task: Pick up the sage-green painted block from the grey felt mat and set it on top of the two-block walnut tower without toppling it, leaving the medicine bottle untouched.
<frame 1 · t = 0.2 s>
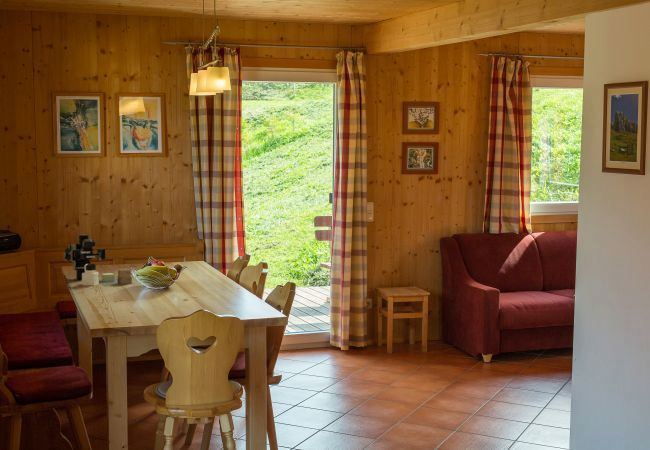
hand: (92, 256, 474), 16 cm above the table, tool horizontal, fingers open, 9 cm apart
tower top: (124, 276, 483), point 4 cm above the table, touching tower base
sage block: (108, 280, 491), resting on mat
medicine bottle: (90, 285, 479), on the table
tower base: (124, 283, 483), resting on mat, touching tower top
mat: (114, 283, 486), on the table
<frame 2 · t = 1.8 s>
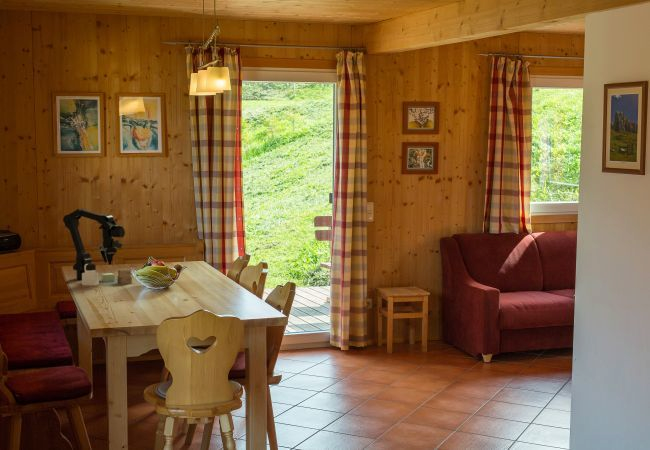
hand: (107, 263, 490), 11 cm above the table, tool pointing down, fingers open, 9 cm apart
nothing on the table moved.
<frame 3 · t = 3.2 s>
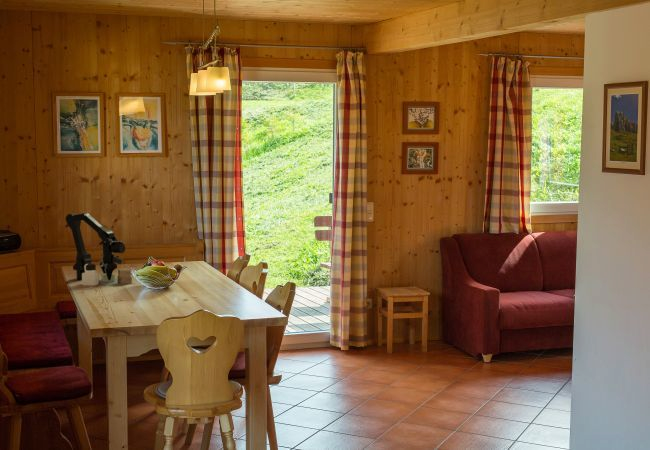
hand: (108, 279, 491), 1 cm above the table, tool pointing down, fingers closed on sage block, 6 cm apart
sage block: (108, 280, 491), resting on mat, touching gripper
everything else where it was.
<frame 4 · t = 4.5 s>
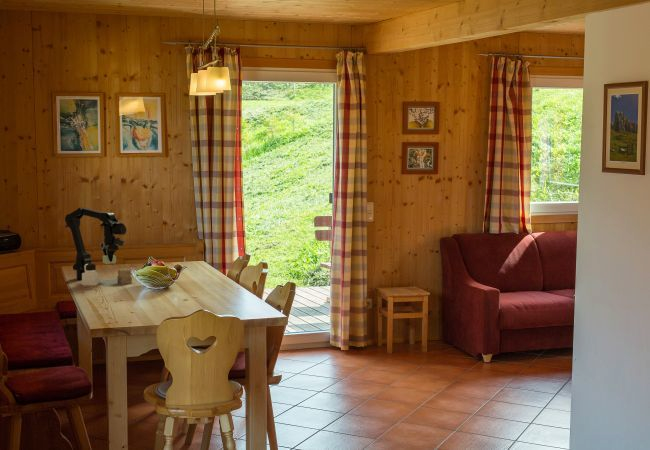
hand: (109, 261, 489), 12 cm above the table, tool pointing down, fingers closed on sage block, 6 cm apart
sage block: (109, 262, 490), point 11 cm above the table, touching gripper
everything else where it was.
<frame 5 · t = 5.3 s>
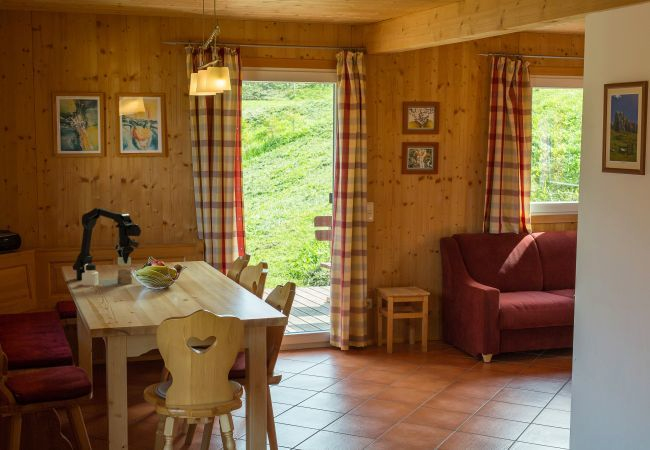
hand: (124, 262, 482), 12 cm above the table, tool pointing down, fingers closed on sage block, 6 cm apart
sage block: (124, 264, 482), point 11 cm above the table, touching gripper
everything else where it was.
when the fingers open (11 cm above the table, at t = 6.0 s): sage block drops 2 cm, resting on tower top.
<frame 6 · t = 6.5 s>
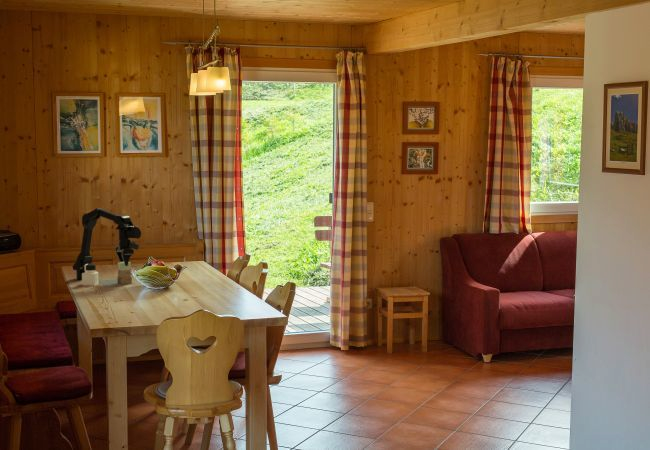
hand: (124, 265, 482), 11 cm above the table, tool pointing down, fingers open, 9 cm apart
tower top: (124, 276, 483), point 4 cm above the table, touching sage block, tower base
sage block: (124, 269, 482), point 8 cm above the table, touching tower top
everything else where it was.
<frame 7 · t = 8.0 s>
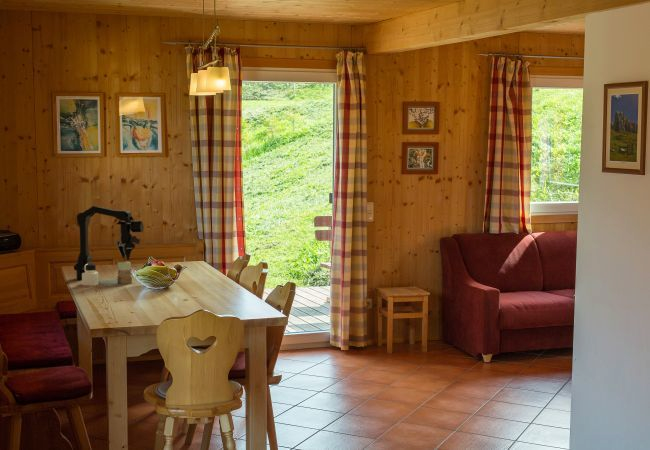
hand: (125, 258, 493), 13 cm above the table, tool pointing down, fingers open, 9 cm apart
nothing on the table moved.
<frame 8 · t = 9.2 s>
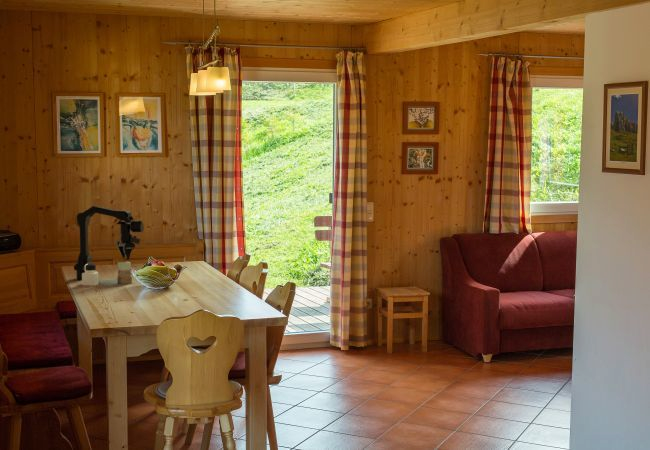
hand: (125, 258, 493), 13 cm above the table, tool pointing down, fingers open, 9 cm apart
nothing on the table moved.
at the end: sage block 0.0 cm off-centre on the tower base, point 8.0 cm above the tower base's base; tower top tilted 0°; the gripper is holding nothing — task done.
